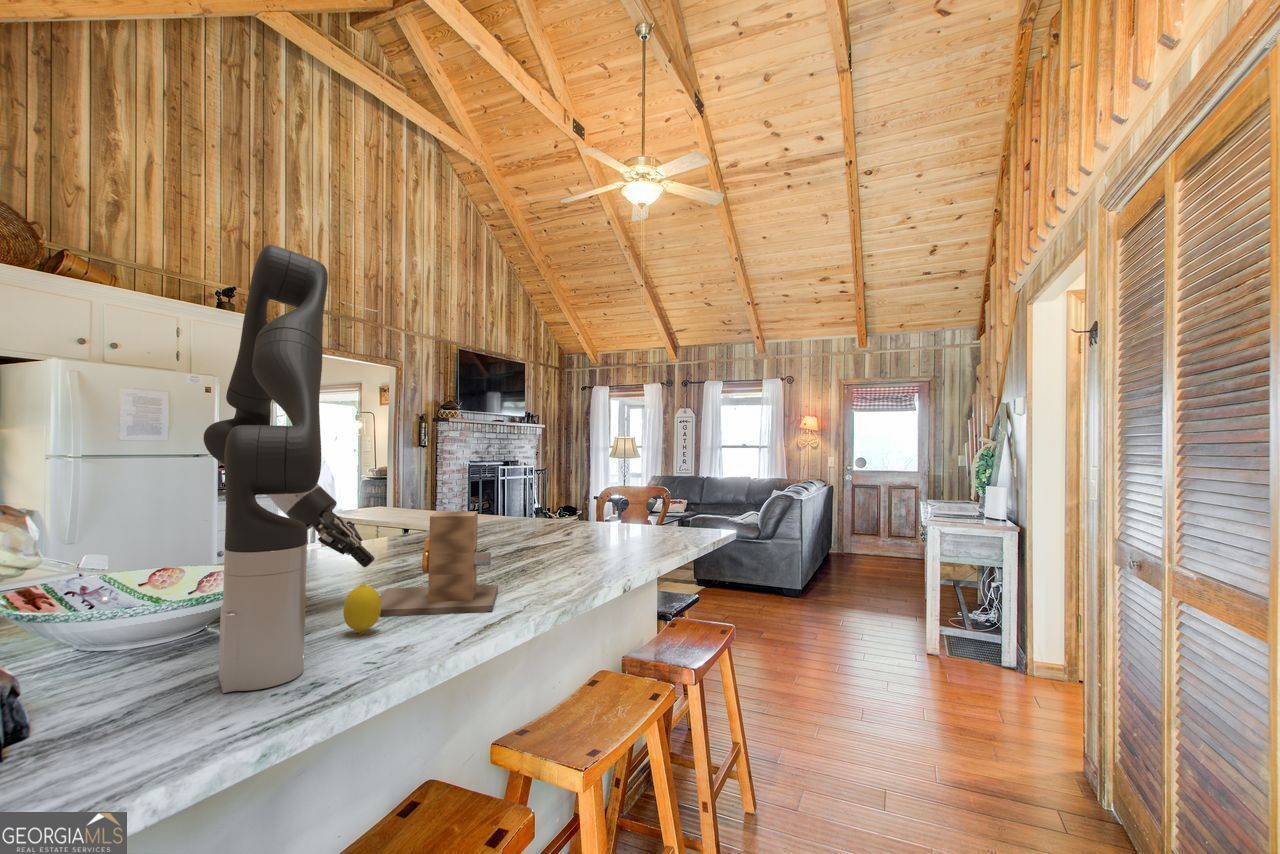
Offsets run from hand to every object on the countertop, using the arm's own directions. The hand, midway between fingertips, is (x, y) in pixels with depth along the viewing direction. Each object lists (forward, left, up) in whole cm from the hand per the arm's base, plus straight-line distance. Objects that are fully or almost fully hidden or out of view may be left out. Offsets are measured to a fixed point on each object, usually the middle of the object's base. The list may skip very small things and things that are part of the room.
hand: (370, 563), depth 111 cm
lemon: (-6, -17, -8) cm, 19 cm away
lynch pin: (+14, -8, -2) cm, 16 cm away
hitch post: (+11, -6, -8) cm, 15 cm away
